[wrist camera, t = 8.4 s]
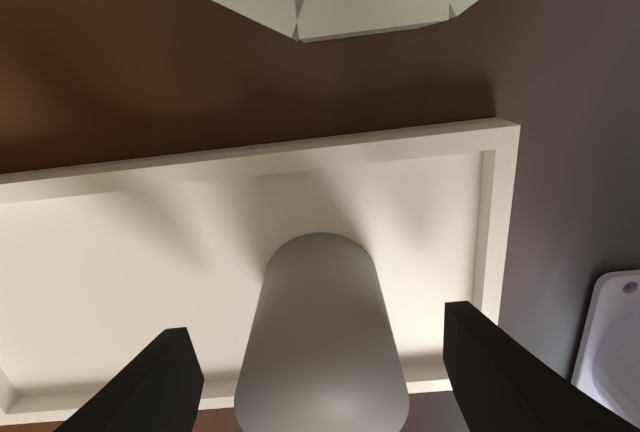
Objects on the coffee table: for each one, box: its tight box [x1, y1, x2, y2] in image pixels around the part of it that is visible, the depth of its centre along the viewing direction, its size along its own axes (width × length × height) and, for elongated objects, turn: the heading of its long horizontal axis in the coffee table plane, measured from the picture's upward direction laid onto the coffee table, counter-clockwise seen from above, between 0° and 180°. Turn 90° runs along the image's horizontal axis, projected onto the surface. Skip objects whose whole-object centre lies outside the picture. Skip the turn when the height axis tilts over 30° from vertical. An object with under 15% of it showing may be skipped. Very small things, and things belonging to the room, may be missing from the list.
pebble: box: [234, 232, 409, 432], centre depth 10 cm, size 4×4×5 cm
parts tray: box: [0, 117, 521, 425], centre depth 13 cm, size 20×10×1 cm, turn 97°
